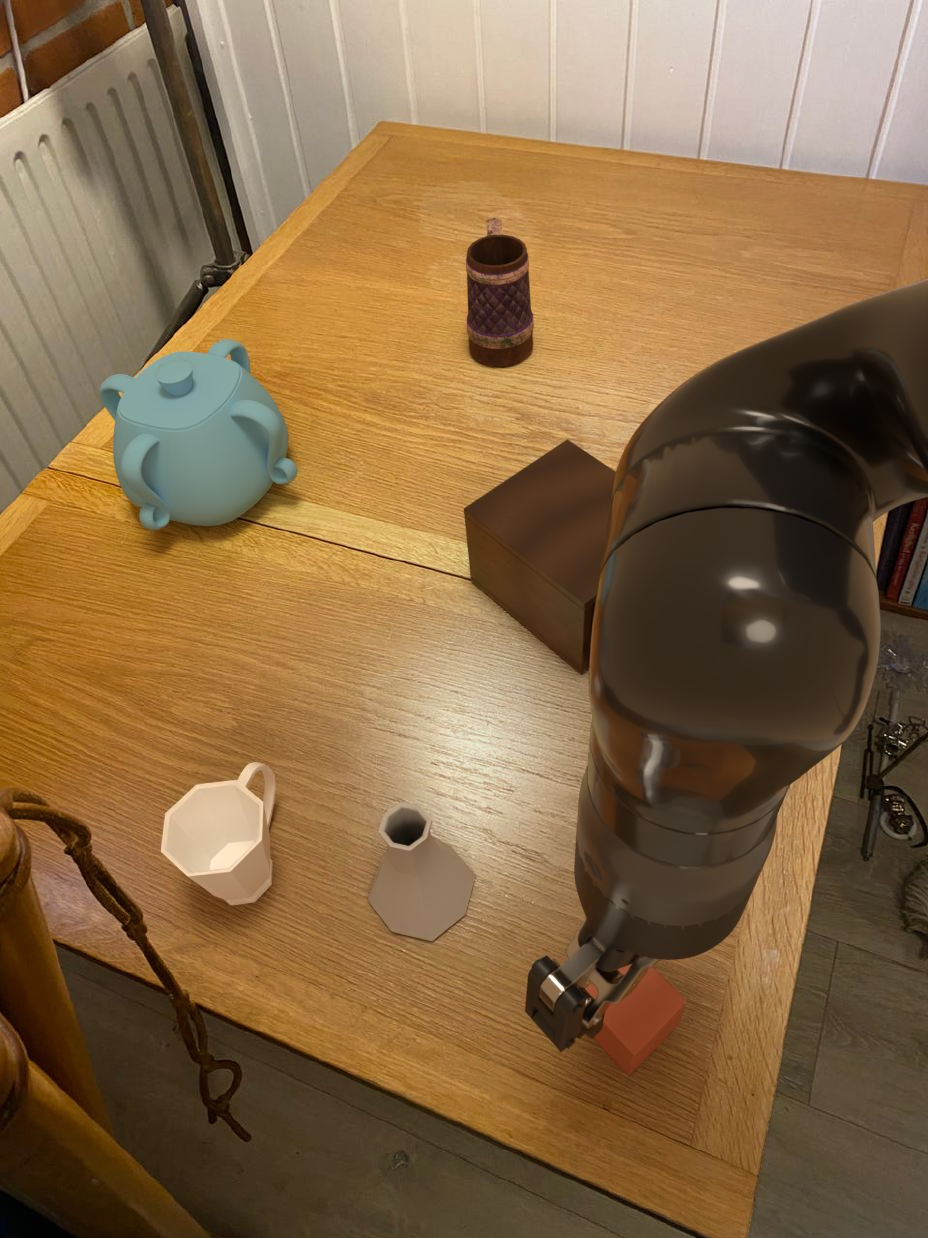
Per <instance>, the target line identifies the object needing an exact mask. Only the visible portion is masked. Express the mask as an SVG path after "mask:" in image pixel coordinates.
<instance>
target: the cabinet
mask: <svg viewBox="0 0 928 1238" xmlns="http://www.w3.org/2000/svg"><path fill="white" fill-rule="evenodd" d="M615 474H616V470H614V469H612V467H610V466H608V465H606V464H605V463H604V462H602V461H601V460H599V459H598V458H597V457H594V455H591V454H590V453H589V452H587V451H586V450H584V449H583V448H581V447H580V446H578V445H577V444H575V443H574V442H572V441H571V440H570V439H567V438H566V439H565V440H564V441H562V442H561V443H559V444H558V445H556V446H555V447H553V448H552V449H550V450H549V451H547V452H546V453H544V454H542V455H541V456H540V457H539V458H537V459H536V460H534V461H533V462H531V463H530V464H528V465H526V466H525V467H523V468H522V469H520V470H519V471H518V472H516V473H515V474H513V475H511V476H510V477H509V478H507V479H505V480H504V481H502V482H501V483H500V484H498V485H496V486H495V487H494V488H492V489H490V490H489V491H487V492H486V493H485V494H483V495H482V496H480V497H479V498H477V499H475V500H474V501H473V502H471V503H470V504H468V505H467V506H465V507H464V508H463V516H464V517H463V518H464V525H465V526H464V527H465V536H466V546H467V555H468V565H469V574H470V583H471V584H473V585H474V586H475V587H476V588H477V589H479V590H480V591H481V592H482V593H483V594H485V595H486V596H487V597H488V598H490V599H491V600H492V601H493V602H494V603H496V605H498V606H499V607H500V608H501V609H503V610H504V611H505V612H506V613H507V614H508V615H510V616H511V617H512V618H513V619H514V620H515V621H517V622H518V623H519V624H520V625H522V626H523V627H524V628H525V629H527V630H528V631H529V632H530V633H531V634H533V635H534V636H535V637H536V638H537V639H539V641H540V642H542V643H543V644H545V646H547V647H548V648H549V649H550V650H551V651H552V652H554V653H555V654H557V656H559V657H560V658H561V659H562V660H563V661H565V662H566V663H567V664H568V665H569V666H571V667H572V668H573V669H574V670H575V671H577V673H579V674H580V675H583V674H584V673H586V672H587V671H589V666H590V653H589V646H590V627H591V608H592V604H593V603H595V602H596V595H597V588H598V582H599V578H600V572H601V565H602V558H603V551H604V544H605V537H606V530H607V523H608V516H609V510H610V503H611V496H612V489H613V483H614V478H615Z"/></svg>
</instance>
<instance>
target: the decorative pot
mask: <svg viewBox="0 0 928 1238" xmlns="http://www.w3.org/2000/svg"><path fill="white" fill-rule="evenodd" d="M229 355H230V358H227V357H228V356H229ZM120 393H121V394H122V395H121V394H120ZM98 395H99V398H100V400H101V402H102V404H103V406H104V407H105V410H106V411H107V412H108V414H109V415H110V416H111V418H112V419H113V420H114V426H113V437H112V440H113V441H112V455H113V463H114V469H115V473H116V477H117V481H118V483H119V485H120V488H121V490H122V493H123V494H124V495H125V497H126V498H127V500H129V501H130V503H132V504H133V505H135V506H137V507H138V508H140V511H139V514H138V517H139V522H140V524H141V525H142V526H143V527H144V528H145V529H147V530H149V531H158V530H161V529H163V528H165V527H166V526H167V525H168V524H169V523H170V521H172V522H173V521H174V522H177V523H181V524H187V525H192V526H201V527H215V526H221V525H225V524H226V523H227V524H228V523H231V522H233V521H235V520H236V519H238V518H240V517H241V516H242V515H244V514H246V513H247V512H248V511H249V510H250V509H251V508H253V507H254V506H255V505H256V504H257V503H258V502H259V501H261V499H262V498H263V497H264V496H265V495H266V494H267V492H268V491H269V490H270V489H271V487H272V485H274V483H275V484H278V485H286V484H290V483H291V482H293V481H294V480H295V479H296V478H297V475H298V467H297V464H296V463H295V462H294V461H293V460H291V459H289V458H287V454H288V449H289V440H290V439H289V438H290V437H289V436H290V434H289V429H288V425H287V423H286V420H285V418H284V416H283V414H282V412H281V409H280V408H279V407H278V405H277V403H276V401H275V400H274V398H273V397H272V395H271V394H270V393H269V391H267V389H266V388H265V387H264V386H263V385H262V384H261V383H260V382H259V381H258V380H257V379H256V378H255V377H254V375H252V372H251V362H250V357H249V352H248V350H247V349H246V346H244V344H242V343H241V342H239V341H238V340H234V339H228V338H226V339H225V338H224V339H219V340H217V341H216V342H214V343H213V344H212V345H211V346H210V348H209V349H208V351H207V352H206V353H204V352H197V351H182V350H181V351H173V352H171V353H169V354H165V355H164V356H161V357H160V358H158V359H156V360H155V361H153V362H152V363H150V364H149V365H148V366H146V367H145V368H143V370H142V371H141V372H139V373H138V374H137V375H136V376H135V377H133V376H131V375H128V374H124V373H115V374H112V375H110V376H108V377H106V379H105V380H104V381H103V382H102V383H101V385H100V387H99V391H98Z"/></svg>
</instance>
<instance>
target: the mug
mask: <svg viewBox="0 0 928 1238" xmlns="http://www.w3.org/2000/svg"><path fill="white" fill-rule="evenodd" d="M529 268H530V259H529V253H528V248H527V246H526V244H525V243H524V242H523V241H522V240H521V239H520V238H517V237H516V236H513V235H510V234H509V235H508V234H503V221H502V219H500V218H497V217H492V218H488V219H486V236H483V237H480V238H478V239H477V240H474V241H473V242H471V244H470V245H469V246H468V247H467V251H466V258H465V271H466V289H467V291H466V292H467V314H466V315H467V316H466V332H467V336H468V349H469V353H470V355H471V356H472V357H473V358H474V360H476V361H478V362H480V363H482V364H483V365H486V366H490V367H509V366H513V365H515V364H518V363H520V362H522V361H524V359H526V358H527V357H528V356H529V355H530V354H531V352H532V351H533V349H534V336H533V335H534V334H533V333H534V327H535V325H534V313H533V310H532V304H531V303H532V302H531V286H530V271H529Z"/></svg>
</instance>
